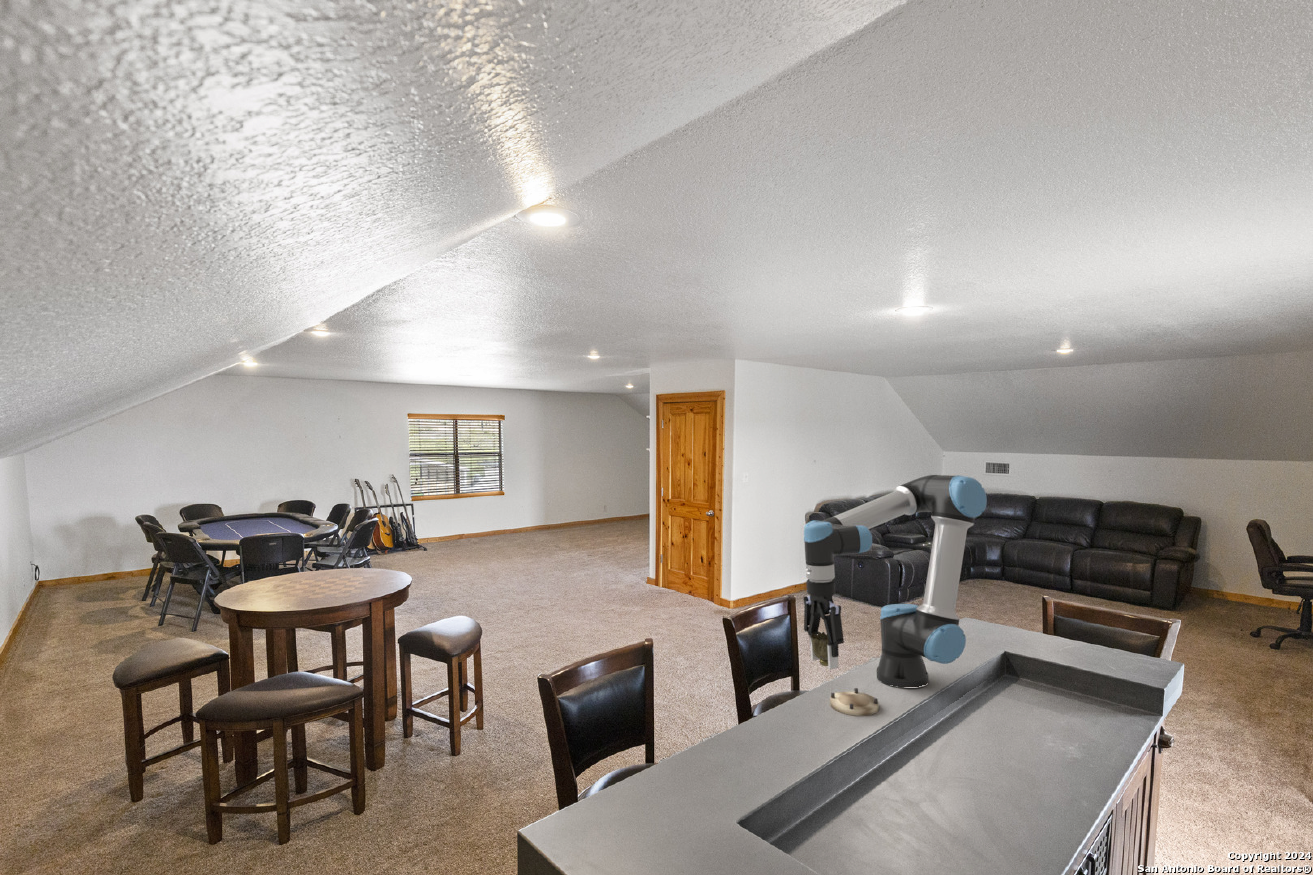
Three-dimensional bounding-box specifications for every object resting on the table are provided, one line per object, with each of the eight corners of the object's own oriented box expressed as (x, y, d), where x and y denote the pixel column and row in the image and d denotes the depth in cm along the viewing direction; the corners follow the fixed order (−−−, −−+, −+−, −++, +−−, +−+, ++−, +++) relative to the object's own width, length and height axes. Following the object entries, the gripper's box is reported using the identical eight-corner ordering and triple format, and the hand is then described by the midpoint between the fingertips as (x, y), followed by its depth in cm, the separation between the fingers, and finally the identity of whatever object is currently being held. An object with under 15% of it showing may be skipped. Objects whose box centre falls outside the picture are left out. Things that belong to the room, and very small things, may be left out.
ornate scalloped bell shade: (844, 668, 166) (841, 637, 167) (816, 670, 167) (813, 639, 167) (836, 659, 174) (834, 630, 174) (809, 661, 174) (807, 632, 174)
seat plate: (857, 693, 185) (857, 684, 185) (888, 710, 173) (888, 700, 173) (820, 701, 181) (820, 691, 181) (850, 718, 168) (849, 708, 169)
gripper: (788, 574, 179) (792, 655, 178) (832, 588, 160) (836, 678, 160) (810, 571, 181) (814, 650, 181) (855, 584, 163) (860, 673, 163)
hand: (824, 663), depth 171 cm, fingers closed on ornate scalloped bell shade, 7 cm apart
